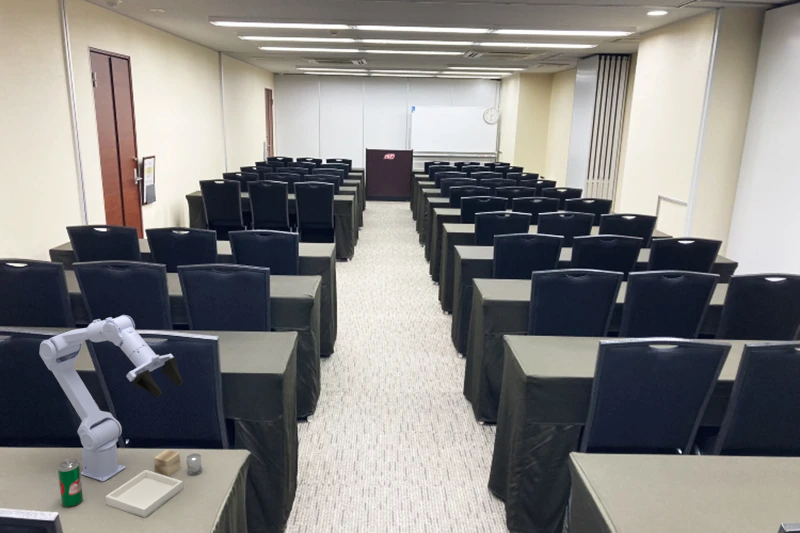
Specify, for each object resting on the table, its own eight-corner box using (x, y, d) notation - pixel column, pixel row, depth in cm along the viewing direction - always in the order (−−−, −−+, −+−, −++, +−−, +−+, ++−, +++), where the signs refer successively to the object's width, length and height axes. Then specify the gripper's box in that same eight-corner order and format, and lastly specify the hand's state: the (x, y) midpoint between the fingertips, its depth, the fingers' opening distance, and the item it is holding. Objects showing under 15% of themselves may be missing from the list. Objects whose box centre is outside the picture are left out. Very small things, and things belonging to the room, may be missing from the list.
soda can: (73, 509, 151) (69, 469, 148) (57, 506, 152) (52, 467, 149) (87, 498, 156) (83, 459, 153) (71, 495, 156) (67, 456, 154)
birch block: (155, 472, 168) (154, 457, 167) (167, 464, 173) (166, 449, 172) (168, 476, 167) (167, 461, 165) (180, 467, 171) (179, 453, 170)
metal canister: (184, 473, 168) (183, 458, 167) (194, 467, 172) (193, 452, 171) (195, 477, 167) (194, 462, 166) (204, 470, 170) (203, 455, 169)
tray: (106, 504, 153) (105, 496, 153) (146, 477, 166) (145, 469, 165) (145, 518, 148) (144, 509, 148) (183, 488, 161) (182, 481, 160)
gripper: (123, 352, 144) (156, 391, 143) (165, 335, 158) (196, 370, 156) (112, 368, 147) (144, 407, 145) (154, 350, 160) (184, 385, 159)
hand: (170, 389), depth 151 cm, fingers open, 7 cm apart
